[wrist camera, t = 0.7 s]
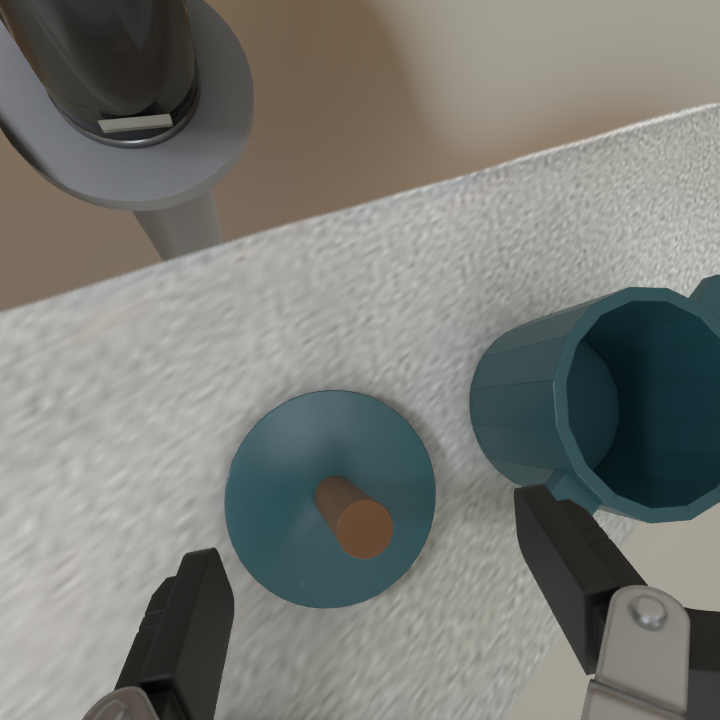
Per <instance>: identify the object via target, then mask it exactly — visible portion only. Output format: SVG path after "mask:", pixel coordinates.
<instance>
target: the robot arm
mask: <svg viewBox="0 0 720 720" xmlns="http://www.w3.org/2000/svg"><path fill="white" fill-rule="evenodd" d="M0 19H1V21H2V22H3V24H4V25H5V27H6V29H7V30H8V32H9V33H10V35H11V36H12V38H13V39H14V41H15V42H16V44H17V45H18V47H19V49H20V50H21V52H22V53H23V55H24V56H25V58H26V59H27V61H28V62H29V64H30V66H31V67H32V69H33V71H34V72H35V74H36V75H37V77H38V78H39V80H40V81H41V83H42V84H43V86H44V87H45V89H46V91H47V94H48V96H49V98H50V99H51V101H52V103H53V104H54V106H55V107H56V109H57V110H58V112H59V113H60V115H61V116H62V117H63V118H64V120H65V121H66V122H67V123H68V124H69V125H70V126H72V127H73V128H74V129H75V130H76V131H78V132H79V133H81V134H82V135H84V136H85V137H87V138H89V139H91V140H93V141H95V142H98V143H100V144H103V145H107V146H111V147H116V148H123V149H139V148H146V147H151V146H155V145H158V144H161V143H163V142H165V141H167V140H169V139H171V138H173V137H174V136H175V135H177V134H178V133H179V132H181V131H182V130H183V129H184V128H185V127H186V126H187V125H188V123H189V122H190V121H191V119H192V118H193V116H194V114H195V112H196V110H197V107H198V104H199V100H200V95H201V81H200V75H199V69H198V65H197V61H196V59H195V56H194V50H193V44H192V37H191V31H190V25H189V20H188V14H187V8H186V3H185V0H0ZM514 503H515V515H516V527H517V537H518V542H519V546H520V549H521V552H522V555H523V557H524V559H525V561H526V563H527V565H528V567H529V569H530V571H531V572H532V574H533V576H534V578H535V580H536V582H537V584H538V585H539V587H540V589H541V591H542V593H543V595H544V597H545V599H546V600H547V602H548V604H549V606H550V608H551V610H552V612H553V613H554V615H555V617H556V619H557V621H558V623H559V625H560V627H561V628H562V630H563V632H564V634H565V636H566V638H567V639H568V641H569V643H570V645H571V647H572V649H573V651H574V653H575V654H576V656H577V658H578V660H579V662H580V664H581V666H582V668H583V669H584V671H585V673H586V675H590V674H595V673H596V674H595V678H594V680H593V679H591V680H590V682H589V685H588V688H587V693H586V698H585V702H584V707H583V712H582V716H581V720H720V612H716V611H704V610H695V609H690V608H686V607H683V606H682V605H681V604H680V603H679V602H678V601H677V600H676V599H675V598H673V597H672V596H671V595H669V594H667V593H666V592H664V591H661V590H659V589H656V588H653V587H649V586H648V585H647V584H646V583H645V581H644V580H643V579H642V578H641V576H640V575H639V574H638V573H637V571H636V570H635V569H634V568H633V566H632V565H631V564H630V563H629V561H627V559H626V558H625V556H624V555H623V554H622V553H621V551H620V550H619V549H618V548H617V547H616V545H615V544H614V543H613V542H612V540H611V539H609V538H608V535H607V534H606V533H605V532H604V530H603V529H602V528H601V527H599V524H598V523H597V522H596V520H595V519H594V518H593V517H592V515H591V514H590V513H589V512H588V510H587V509H585V508H583V507H582V506H580V505H579V504H577V503H575V502H574V501H572V500H570V499H564V500H559V501H557V500H556V499H555V497H554V496H553V495H552V493H551V492H550V491H549V489H548V488H547V487H546V485H545V484H543V483H540V484H535V485H530V486H525V487H520V488H515V490H514ZM233 618H234V597H233V592H232V589H231V586H230V583H229V581H228V578H227V575H226V572H225V569H224V567H223V564H222V561H221V558H220V555H219V553H218V551H217V549H216V548H210V549H205V550H200V551H195V552H190V553H186V554H185V555H184V556H183V559H182V562H181V564H180V567H179V570H178V573H177V575H176V576H173V577H168V578H166V579H165V581H164V582H163V583H162V584H161V585H160V587H159V588H158V589H157V590H156V591H155V593H154V594H153V595H152V597H151V600H150V602H149V605H148V607H147V610H146V612H145V617H143V620H142V622H141V625H140V627H139V633H137V634H136V637H135V639H134V642H133V644H132V647H131V649H130V652H129V654H128V657H127V659H126V662H125V664H124V667H123V669H122V672H121V674H120V676H119V679H118V681H117V684H116V686H115V689H114V691H113V692H111V693H109V694H108V695H106V696H104V697H103V698H102V699H100V700H99V701H98V702H97V703H96V704H95V705H94V706H93V707H92V708H91V709H90V710H89V711H88V712H87V714H86V715H85V716H84V718H83V719H82V720H213V719H214V714H215V709H216V704H217V698H218V693H219V688H220V683H221V678H222V673H223V668H224V663H225V658H226V653H227V648H228V643H229V638H230V633H231V628H232V623H233Z"/></svg>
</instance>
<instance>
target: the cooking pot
mask: <svg viewBox="0 0 720 720" xmlns="http://www.w3.org/2000/svg"><path fill="white" fill-rule="evenodd" d="M470 414H471V421H472V425H473V429H474V432H475V435H476V438H477V440H478V443H479V445H480V446H481V448H482V450H483V452H484V454H485V455H486V457H487V458H488V459H489V461H490V462H491V463H492V464H493V465H494V467H495V468H496V469H497V470H498V471H499V472H501V473H502V474H503V475H504V476H505V477H507V478H508V479H510V480H511V481H512V482H514V483H516V484H518V485H521V486H523V487H525V486H530V485H535V484H540V483H543V484H545V485H546V487H547V488H548V489H549V491H550V492H551V493H552V495H553V496H554V497H555V499H556V500H557V501H559V500H564V499H570V500H572V501H574V502H575V503H577V504H579V505H580V506H582V507H583V508H585V509H587V510H588V512H589V513H590V514H591V515H592V516H593V514H594V513H595V512H596V510H597V509H599V510H603V511H607V512H610V513H614V514H617V515H621V516H625V517H628V518H632V519H636V520H639V521H643V522H647V523H660V522H673V521H685V520H692V519H693V518H695V517H696V516H698V515H700V514H701V513H703V512H704V511H706V510H708V509H709V508H711V507H712V506H714V505H716V504H717V503H719V502H720V275H714V276H711V277H708V278H705V279H703V280H702V281H701V282H700V284H699V285H698V286H697V288H696V289H695V290H694V291H693V293H692V294H691V295H690V297H689V298H687V297H685V296H683V295H681V294H679V293H677V292H674V291H672V290H670V289H668V288H644V287H629V288H625V289H622V290H619V291H617V292H614V293H611V294H608V295H605V296H602V297H599V298H596V299H594V300H591V301H588V302H585V303H582V304H579V305H576V306H573V307H570V308H568V309H565V310H562V311H559V312H556V313H553V314H550V315H547V316H545V317H542V318H539V319H536V320H533V321H530V322H528V323H526V324H524V325H521V326H519V327H516V328H514V329H512V330H510V331H508V332H506V333H505V334H503V335H502V336H501V337H500V338H498V339H497V340H496V341H495V342H494V343H493V344H492V345H491V346H490V347H489V348H488V350H487V351H486V352H485V354H484V355H483V357H482V359H481V360H480V362H479V364H478V366H477V369H476V371H475V374H474V377H473V381H472V385H471V392H470Z"/></svg>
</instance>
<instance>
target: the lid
mask: <svg viewBox="0 0 720 720" xmlns="http://www.w3.org/2000/svg"><path fill="white" fill-rule="evenodd" d="M434 509H435V481H434V474H433V470H432V466H431V462H430V459H429V457H428V454H427V451H426V449H425V447H424V445H423V443H422V441H421V440H420V438H419V437H418V435H417V434H416V432H415V431H414V429H413V428H412V427H411V426H410V425H409V423H408V422H407V421H406V420H405V419H404V418H403V417H402V416H401V415H399V414H398V413H397V412H396V411H395V410H393V409H392V408H390V407H389V406H387V405H386V404H384V403H382V402H380V401H378V400H376V399H374V398H372V397H369V396H366V395H363V394H360V393H356V392H350V391H342V390H327V391H317V392H313V393H308V394H304V395H302V396H299V397H296V398H293V399H291V400H289V401H287V402H285V403H283V404H281V405H279V406H278V407H277V408H275V409H274V410H272V411H271V412H269V413H268V414H267V415H266V416H265V417H263V418H262V419H261V420H260V421H259V422H258V423H257V424H256V425H255V426H254V427H253V429H252V430H251V431H250V432H249V433H248V435H247V436H246V438H245V439H244V441H243V442H242V444H241V445H240V447H239V449H238V451H237V453H236V455H235V457H234V459H233V462H232V465H231V468H230V471H229V474H228V479H227V484H226V489H225V518H226V523H227V528H228V533H229V536H230V539H231V542H232V544H233V547H234V549H235V551H236V553H237V555H238V557H239V559H240V560H241V562H242V563H243V565H244V566H245V568H246V569H247V570H248V572H249V573H250V574H251V575H252V576H253V577H254V578H255V579H256V580H257V581H258V582H259V583H260V584H261V585H263V586H264V587H265V588H266V589H268V590H269V591H270V592H272V593H274V594H275V595H277V596H279V597H281V598H282V599H285V600H287V601H290V602H292V603H295V604H299V605H303V606H307V607H314V608H339V607H344V606H350V605H354V604H357V603H360V602H363V601H365V600H368V599H370V598H372V597H374V596H376V595H378V594H379V593H381V592H383V591H384V590H386V589H387V588H389V587H390V586H391V585H392V584H394V583H395V582H396V581H397V580H398V579H400V578H401V576H402V575H403V574H404V573H405V572H406V571H407V570H408V569H409V568H410V566H411V565H412V564H413V562H414V561H415V559H416V558H417V557H418V555H419V553H420V551H421V549H422V548H423V546H424V544H425V541H426V539H427V536H428V534H429V531H430V528H431V524H432V520H433V516H434Z"/></svg>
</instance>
